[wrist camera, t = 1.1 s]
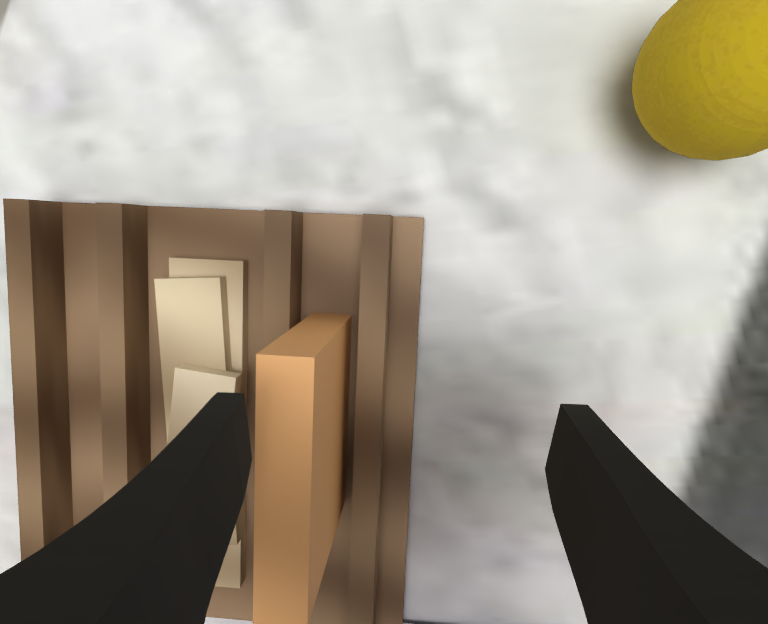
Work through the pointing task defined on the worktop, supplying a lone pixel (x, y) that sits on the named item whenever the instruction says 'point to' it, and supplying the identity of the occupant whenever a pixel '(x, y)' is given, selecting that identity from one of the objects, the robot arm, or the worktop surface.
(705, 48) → the lemon
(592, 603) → the robot arm
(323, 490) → the orange square slab
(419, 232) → the rack
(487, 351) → the worktop surface
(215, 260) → the offcut stack
